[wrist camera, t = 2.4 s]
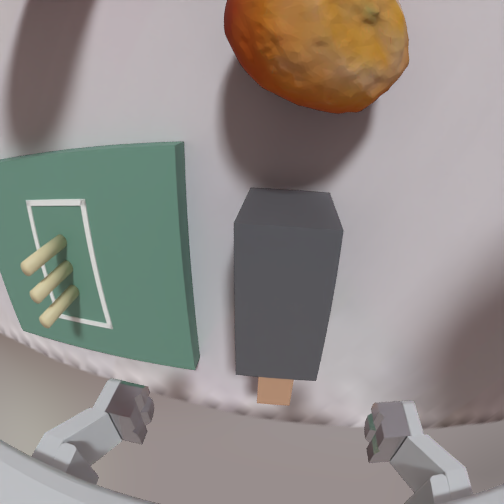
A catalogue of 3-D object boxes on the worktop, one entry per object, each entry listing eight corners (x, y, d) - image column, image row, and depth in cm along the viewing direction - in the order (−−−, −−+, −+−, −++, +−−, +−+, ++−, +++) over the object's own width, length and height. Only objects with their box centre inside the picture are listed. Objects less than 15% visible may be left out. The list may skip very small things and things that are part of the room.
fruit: (202, -37, 11) (276, -109, 5) (329, -8, 14) (435, -30, 8) (192, 102, 15) (261, 107, 8) (322, 110, 18) (429, 131, 12)
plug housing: (329, 192, 18) (343, 230, 13) (308, 352, 23) (308, 411, 18) (250, 187, 18) (233, 223, 13) (248, 347, 23) (236, 405, 18)
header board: (184, 141, 17) (142, 159, 12) (199, 356, 24) (180, 411, 19) (-12, 161, 19) (-60, 182, 14) (31, 321, 26) (0, 356, 21)
